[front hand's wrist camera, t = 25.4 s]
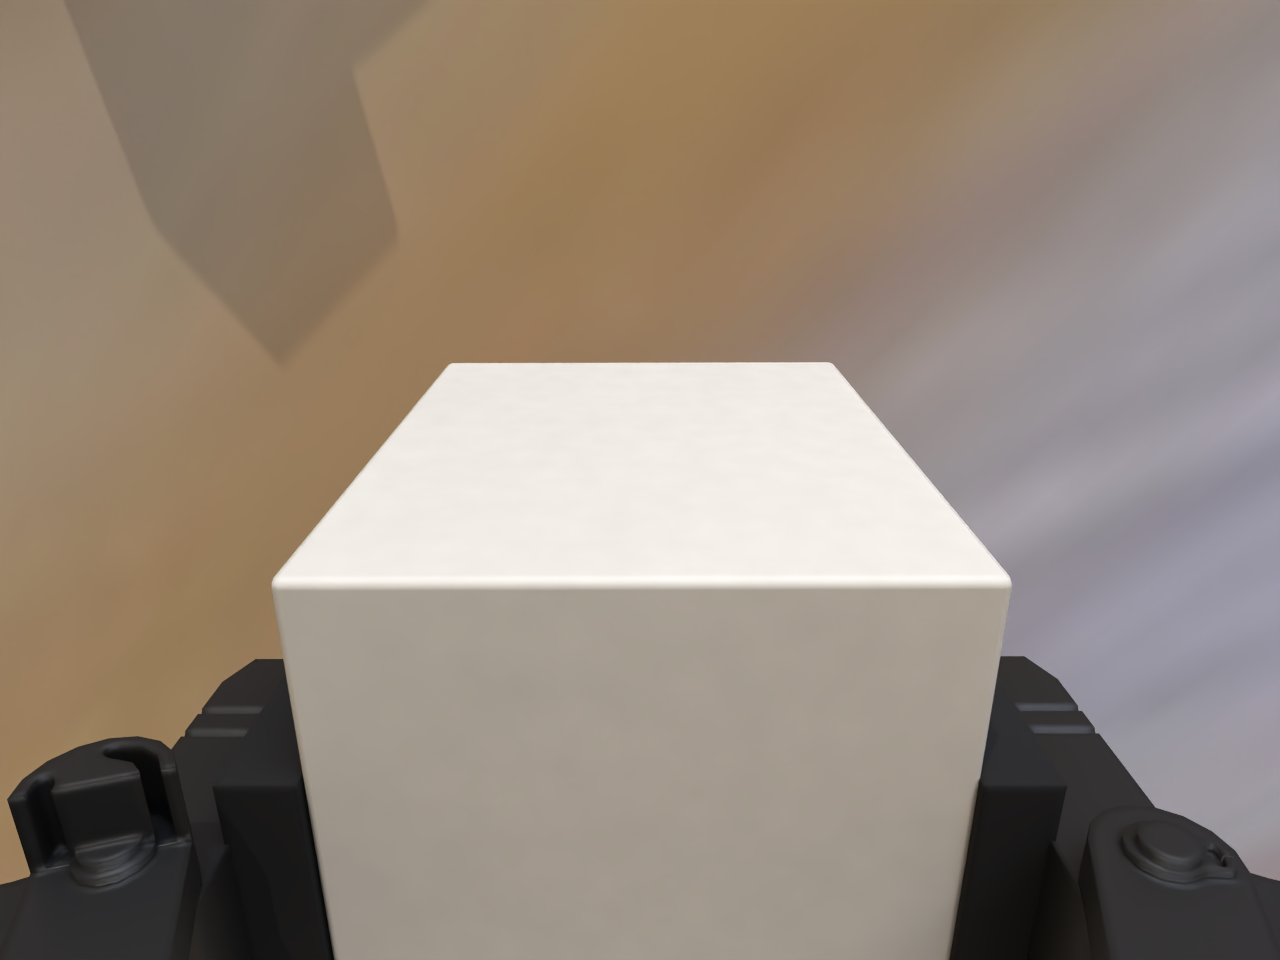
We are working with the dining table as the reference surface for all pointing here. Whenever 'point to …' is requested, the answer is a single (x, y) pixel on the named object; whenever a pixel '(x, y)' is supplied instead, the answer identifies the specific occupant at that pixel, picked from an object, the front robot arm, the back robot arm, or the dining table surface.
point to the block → (641, 673)
